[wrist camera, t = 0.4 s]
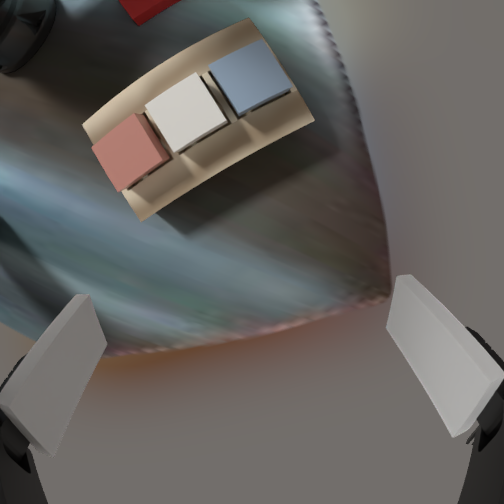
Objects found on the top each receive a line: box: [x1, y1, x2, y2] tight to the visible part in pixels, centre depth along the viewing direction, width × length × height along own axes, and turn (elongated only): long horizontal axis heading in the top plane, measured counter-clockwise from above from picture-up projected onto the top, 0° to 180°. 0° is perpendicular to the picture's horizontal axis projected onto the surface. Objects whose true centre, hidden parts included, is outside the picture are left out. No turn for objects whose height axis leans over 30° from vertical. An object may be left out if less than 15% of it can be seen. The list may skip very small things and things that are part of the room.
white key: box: [145, 72, 228, 152], centre depth 25 cm, size 6×6×3 cm
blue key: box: [208, 39, 293, 116], centre depth 24 cm, size 6×6×3 cm
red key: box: [91, 113, 170, 192], centre depth 26 cm, size 6×6×3 cm
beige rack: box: [82, 18, 315, 222], centre depth 29 cm, size 14×22×5 cm, turn 120°
